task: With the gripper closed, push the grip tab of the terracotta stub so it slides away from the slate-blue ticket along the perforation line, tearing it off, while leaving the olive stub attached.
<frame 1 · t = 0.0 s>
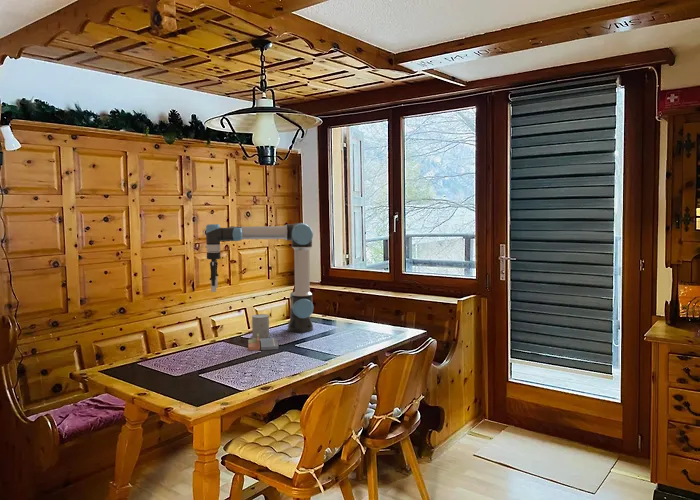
hand: (214, 289, 302), 28 cm above the table, fingers open, 13 cm apart
olive stub: (253, 339, 293), point 2 cm above the table, slide at 0.0 cm
grey cylinder: (260, 337, 309), on the table
terracotta stub: (254, 343, 285), point 2 cm above the table, slide at 0.0 cm
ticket: (269, 345, 291), on the table
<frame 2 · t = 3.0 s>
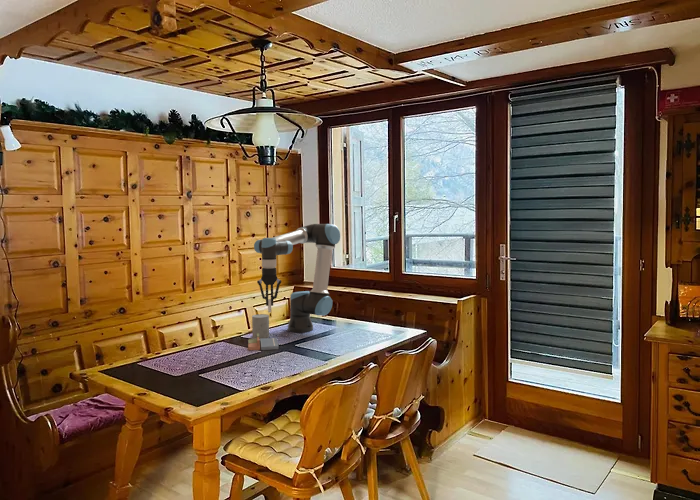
hand: (269, 311, 285), 19 cm above the table, fingers closed
nothing on the table moved.
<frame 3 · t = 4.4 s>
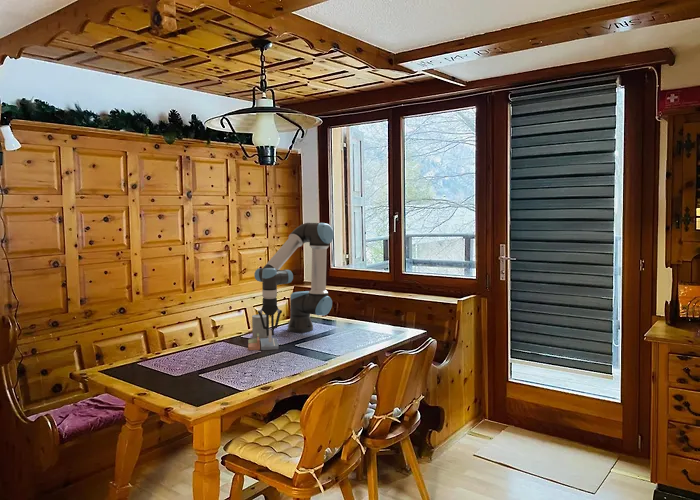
hand: (270, 341, 286), 3 cm above the table, fingers closed
nothing on the table moved.
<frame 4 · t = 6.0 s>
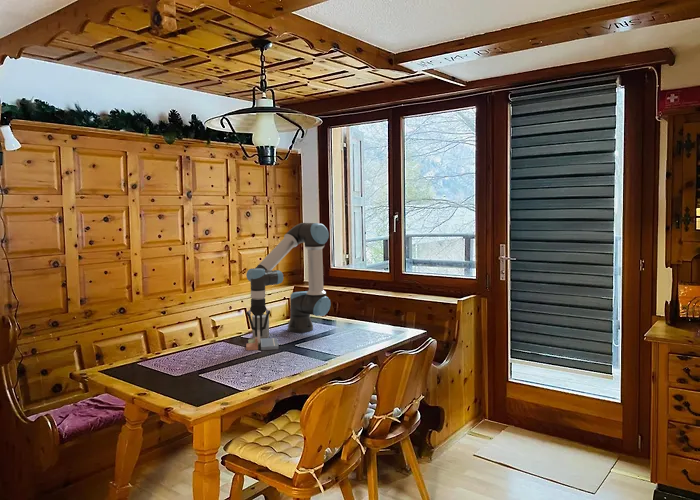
hand: (258, 342, 285), 3 cm above the table, fingers closed
terracotta stub: (252, 343, 284), point 2 cm above the table, slide at 1.1 cm, touching gripper
everything else where it was.
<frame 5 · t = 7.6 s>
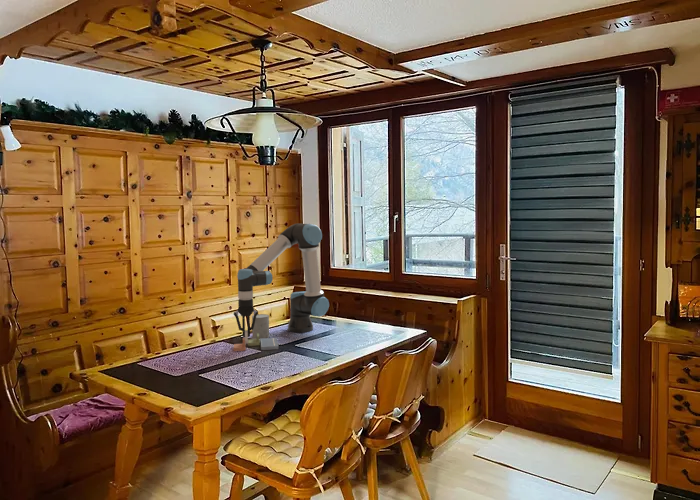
hand: (246, 343, 284), 3 cm above the table, fingers closed
terracotta stub: (239, 344, 283), point 2 cm above the table, slide at 7.4 cm, touching gripper
everything else where it was.
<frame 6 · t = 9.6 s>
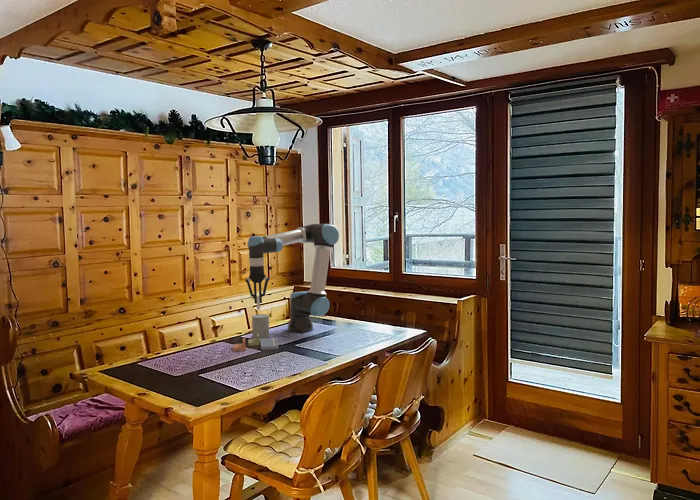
hand: (258, 309, 288), 20 cm above the table, fingers closed
terracotta stub: (239, 344, 283), point 2 cm above the table, slide at 7.5 cm
everything else where it was.
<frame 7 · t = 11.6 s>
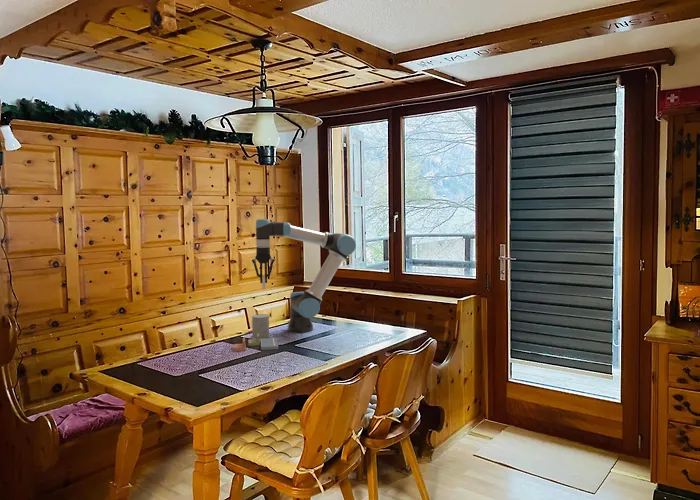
hand: (263, 288, 303), 28 cm above the table, fingers closed
nothing on the table moved.
at the end: terracotta stub slide at 7.5 cm; olive stub slide at 0.0 cm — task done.
